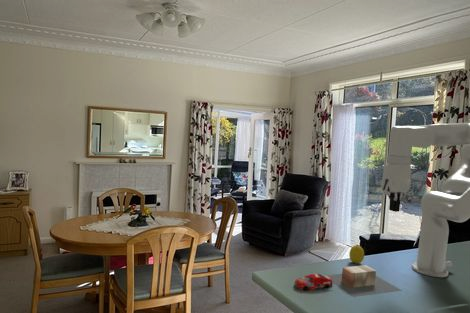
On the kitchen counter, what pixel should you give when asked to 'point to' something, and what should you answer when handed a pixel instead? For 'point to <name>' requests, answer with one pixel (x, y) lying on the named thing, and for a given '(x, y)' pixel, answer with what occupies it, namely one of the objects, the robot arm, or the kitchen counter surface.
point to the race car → (313, 282)
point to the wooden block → (358, 276)
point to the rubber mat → (379, 286)
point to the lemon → (356, 254)
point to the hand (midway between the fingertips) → (394, 210)
